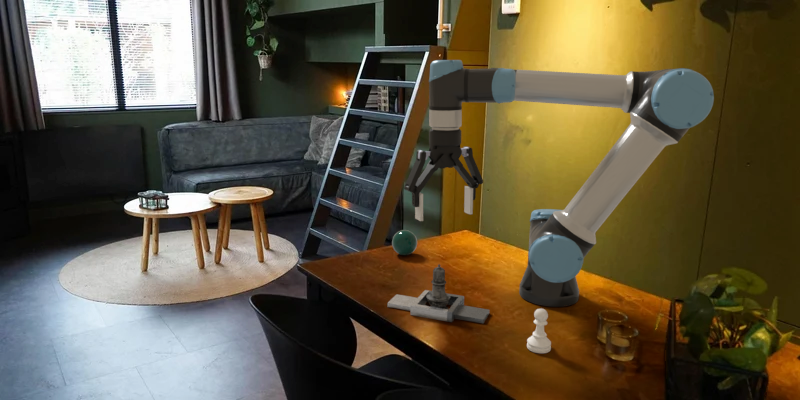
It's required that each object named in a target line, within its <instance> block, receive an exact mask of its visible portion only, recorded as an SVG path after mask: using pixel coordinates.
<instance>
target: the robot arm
mask: <svg viewBox="0 0 800 400" xmlns="http://www.w3.org/2000/svg"><path fill="white" fill-rule="evenodd" d="M429 66H430V67H429V79H428V85H429V86H428V91H429V92H428V95H429V96H428V97H429V98H428V102H429V104H428V105H429V109H428V115H429V117H428V120H429V123H428V126H429V127H430V129H429V130H428V144H429V145H428V146H429V149H428V151H427V150H421V149H418V150H417V151H416V156H415V158H416V159H415V161H414V163H413V166H412V168H411V170H410V172H409V175H408V177H407V179H406V182H405V184H404V187H403V189H404V190H405V191H407V192H410V193H411V204H412V206H413V207H414V214H415V215H414V220H418V221H419V222H424V193H422V191H423V190H424V188H425V186H426V185H427V183H428V182H429V181H430V179H432V176H433V175H434V174H435V172H437V171H438V170H439V169H442V170H443V169H446V168H449V169H451V168H454V169H455V170H456V172H457V173H458V175H459V176H460V177H461V178H462V179H463V180H464V183H465V184H466V185H464V196H463V197H464V199H463V200H464V203H463V208H464V210H463V212H464V213H465V214H467V215H469V216H470V215H473V210H474V201H475V200H476V196H477V195H476V193H477V192H476V190H477V189H478V188H479V185H482V184H484V180H483V177H482V175H481V172H480V169H479V168H478V164H477V162H476V161H475V158H474V155H473V154H474V153H473V148H472V147H470V146H463V147H461V144H462V130H461V129H460V128H461V127H462V124H463V123H462V122H463V120H462V119H463V118H462V117H463V115H462V114H463V113H462V111H463V109H462V107H463V106H462V105H463V103H486V104H489V103H490V104H491V103H493V104H494V103H496V104H503V103H504V104H505V103H512V102H515V101H516V102H525V103H526V102H529V103H543V104H555V105H556V104H558V105H559V104H560V105H572V106H586V107H598V108H599V107H600V108H601V107H602V108H614V109H621V110H622V111H623V113H625V114H629V116H630V124H629V125H628V126H627V128H626V129H625V130H624V131H623V133H622V134H621V135H620V137H619V138H618V139H617V141H616V142H615V143H614V144H613V146H612V147H611V149H609V151H608V152H607V153H606V155H605V156H604V157H603V159H602V160H601V161H600V162H599V164H598V165H597V166H596V168H594V169H593V172H592V173H591V174H590V175H589V177H588V178H587V180H585V182H584V183H583V185H582V186H580V189H579V190H578V191H577V192H576V194H575V195H573V198H571V200H570V201H569V202H568V204H567V205H566V207H565V208H564V209H553V208H541V209H539V208H538V209H534V210H533V211H531V214H530V219H529V223H530V224H529V225H530V226H529V241H528V253H527V267H526V268H525V271H524V273H523V276H522V278H521V281H520V283H519V288H518V289H519V291H518V293H519V296H520V297H521V298H522V299H524V300H525V301H527V302H529V303H531V304H534V305H539V306H544V307H550V308H552V307H553V308H557V307H558V308H559V307H567V306H568V307H570V306H572V305H574V304H577V302H578V301H579V298H580V289H579V285H578V281H577V276H578V274H579V273H580V271H581V269H582V267H583V264H584V259H585V257H586V256H587V255H588V253H589V252H590V251H591V250H592V248H594V246H595V245H596V244H597V238H596V236H597V235H596V232H597V231H598V230H599V229H600V228H601V226H602V225H603V224H604V223H605V222H606V220H607V219H608V218H609V217H610V215H611V214H612V213H613V211H614V210H615V209H616V208H617V207H618V205H619V204H620V203H621V202H622V200H623V199H624V198H625V197H626V196H627V194H628V193H629V192H630V190H631V189H632V188H633V187H634V185H635V184H636V183H637V182H638V180H639V179H641V177H642V176H643V175H644V173H645V172H646V171H647V170H648V168H649V167H650V165H652V163H653V162H654V161H655V159H656V158H657V157H658V156H659V155H660V153H661V152H662V151H663V150H664V149H665V147H667V146H670V145H675V144H678V143H679V142H680V141H681V139H682V138H683V137H684V135H685V134H687V132H688V131H689V129H690V128H691V129H692V128H694V127H695V126H698V125H699V124H700V123H702V122H703V121H704V120H705V119H706V118H707V117H708V115H709V114H710V113H711V110H712V108H713V106H714V101H715V95H714V89H713V86H712V83H710V81H709V80H708V79H707V78H706V77H705V76H704V75H703V74H702V73H699V72H698V71H695V70H693V69H691V68H684V67H680V68H664V69H660V70H649V71H633V70H631V71H629V72H628V73H627V74H625V75H624V74H604V73H603V74H602V73H591V72H590V73H589V72H587V73H586V72H585V73H584V72H569V71H568V72H567V71H550V70H531V69H514V68H513V69H512V68H505V67H490V68H472V69H471V68H466V67H465V68H464V64H463V61H462V60H461V59H436V60H433V61H431V63H430V65H429ZM461 156H462V157H463V159H464V161H465V164H466V167H467V168H468V170H467V169H466V168H465V166H464V164H463V163H462V161H461V160H460V157H461ZM428 158H429V159H430V160H429V161H428V163H427V164H426V161H427V160H428ZM425 164H426V167H425ZM424 167H425V168H424ZM423 169H424V170H423ZM468 171H469V172H470V173H469V172H468Z"/></svg>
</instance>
